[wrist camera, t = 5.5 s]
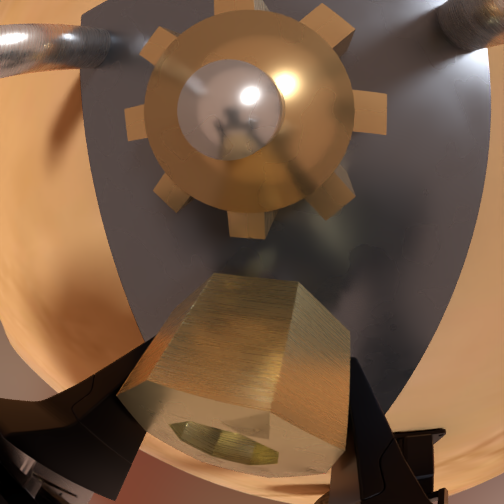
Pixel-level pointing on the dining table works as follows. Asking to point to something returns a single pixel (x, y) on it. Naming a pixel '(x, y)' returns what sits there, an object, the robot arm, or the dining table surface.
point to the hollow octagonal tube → (247, 379)
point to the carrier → (286, 151)
